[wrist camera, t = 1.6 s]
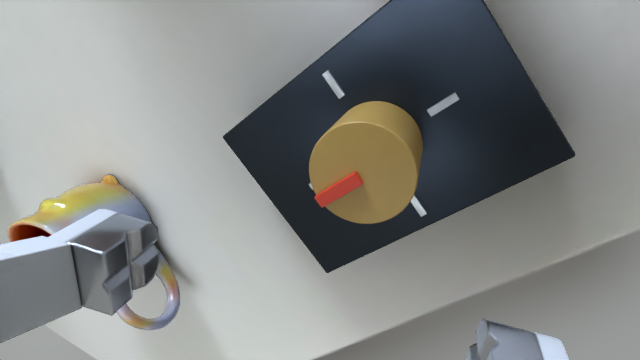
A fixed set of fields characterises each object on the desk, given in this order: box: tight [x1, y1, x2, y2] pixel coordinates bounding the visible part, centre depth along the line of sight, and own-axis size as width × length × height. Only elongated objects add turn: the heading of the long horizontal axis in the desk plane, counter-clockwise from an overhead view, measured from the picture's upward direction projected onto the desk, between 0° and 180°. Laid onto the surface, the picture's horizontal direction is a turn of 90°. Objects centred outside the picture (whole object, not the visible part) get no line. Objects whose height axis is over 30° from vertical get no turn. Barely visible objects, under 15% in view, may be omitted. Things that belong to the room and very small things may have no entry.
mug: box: [8, 175, 180, 330], centre depth 27 cm, size 12×7×7 cm, turn 43°
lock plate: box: [223, 0, 575, 273], centre depth 20 cm, size 14×10×3 cm
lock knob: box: [309, 101, 423, 224], centre depth 17 cm, size 4×4×4 cm
